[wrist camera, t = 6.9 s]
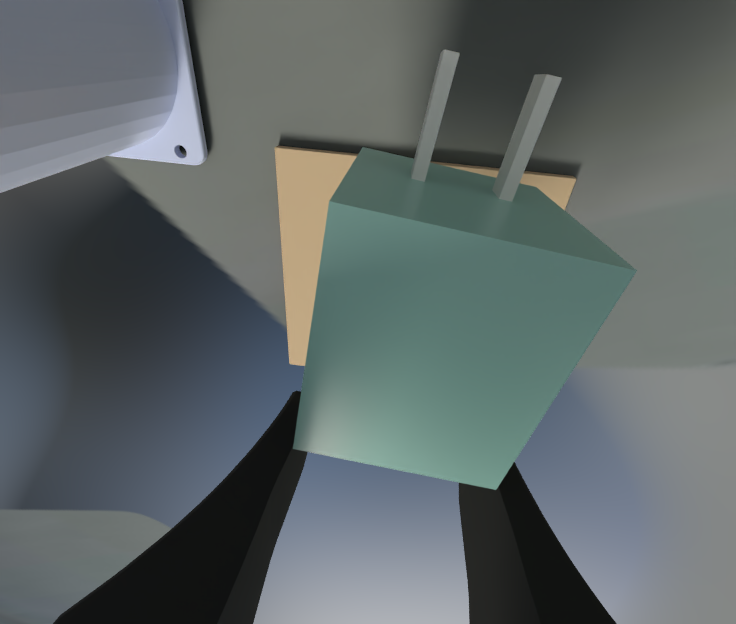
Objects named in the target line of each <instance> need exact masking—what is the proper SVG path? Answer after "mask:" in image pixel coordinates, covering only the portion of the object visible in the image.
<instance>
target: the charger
mask: <svg viewBox="0 0 736 624" xmlns="http://www.w3.org/2000/svg"><path fill="white" fill-rule="evenodd" d="M459 54H460V53H457V52H453V51H449V50H445V49H444V50H443V51H441V54H440V58H439V62H438V66H437V70H436V74H435V78H434V82H433V86H432V90H431V94H430V97H429V101H428V105H427V109H426V113H425V117H424V121H423V125H422V129H421V133H420V137H419V141H418V145H417V149H416V153H415V157H414V159H413V158H408V157H404V156H400V155H396V154H391V153H387V152H383V151H378V150H374V149H370V148H365V147H362V149H361V151H360V152H359V154H358V155H357V157H356V159H355V160H354V162H353V164H352V165H351V167H350V168H349V170H348V172H347V173H346V175H345V176H344V178H343V180H342V181H341V183H340V184H339V186H338V188H337V189H336V191H335V193H334V194H333V196H332V197H331V199H330V201H329V206H328V212H327V219H326V226H325V233H324V240H323V247H322V253H321V260H320V267H319V274H318V281H317V287H316V294H315V301H314V308H313V315H312V322H311V328H310V335H309V342H308V349H307V356H306V362H305V370H304V377H303V383H302V390H301V397H300V403H299V410H298V417H297V424H296V431H295V437H294V444H293V449H296V450H301V451H306V452H311V453H316V454H321V455H326V456H331V457H336V458H341V459H346V460H351V461H356V462H360V463H366V464H371V465H375V466H380V467H386V468H390V469H395V470H400V471H405V472H410V473H415V474H420V475H425V476H430V477H435V478H440V479H445V480H450V481H455V482H459V483H464V484H469V485H474V486H479V487H484V488H489V489H494V490H496V489H497V488H498V486H499V485H500V483H501V482H502V480H503V478H504V477H505V475H506V474H507V472H508V471H509V469H510V468H511V466H512V464H513V463H514V461H515V460H516V458H517V457H518V455H519V454H520V452H521V450H522V449H523V447H524V446H525V444H526V443H527V441H528V440H529V438H530V436H531V435H532V433H533V432H534V430H535V429H536V427H537V425H538V424H539V422H540V421H541V419H542V418H543V416H544V415H545V413H546V411H547V410H548V408H549V407H550V405H551V404H552V402H553V400H554V399H555V397H556V396H557V394H558V393H559V391H560V390H561V388H562V386H563V385H564V383H565V382H566V380H567V379H568V377H569V376H570V374H571V373H572V371H573V369H574V368H575V366H576V365H577V363H578V362H579V360H580V359H581V357H582V355H583V354H584V352H585V351H586V349H587V348H588V346H589V345H590V343H591V341H592V340H593V338H594V337H595V335H596V334H597V332H598V331H599V329H600V327H601V326H602V324H603V323H604V321H605V320H606V318H607V317H608V315H609V313H610V312H611V310H612V309H613V307H614V306H615V304H616V303H617V301H618V299H619V298H620V296H621V295H622V293H623V292H624V290H625V289H626V287H627V285H628V284H629V282H630V281H631V279H632V278H633V276H634V274H635V273H636V271H637V270H636V269H634V268H633V267H632V266H631V265H630V264H628V263H627V262H626V261H625V260H624V259H622V258H621V257H620V256H619V255H618V254H616V253H615V252H614V251H613V250H612V249H610V248H609V247H608V246H607V245H605V244H604V243H603V242H602V241H601V240H599V239H598V238H597V237H596V236H595V235H593V234H592V233H591V232H590V231H589V230H587V229H586V228H585V227H584V226H583V225H581V224H580V223H579V222H578V221H577V220H575V219H574V218H573V217H572V216H571V215H569V214H568V213H567V212H566V211H564V210H563V209H562V208H561V207H560V206H558V205H557V204H556V203H555V202H554V201H552V200H551V199H550V198H549V197H548V196H546V195H545V194H544V193H543V192H542V191H540V190H539V189H538V188H537V187H534V186H530V185H525V184H521V183H520V181H521V178H522V176H523V173H524V171H525V168H526V166H527V163H528V161H529V158H530V156H531V153H532V151H533V148H534V146H535V144H536V141H537V139H538V136H539V134H540V131H541V129H542V126H543V124H544V121H545V119H546V116H547V114H548V111H549V109H550V106H551V104H552V101H553V99H554V97H555V94H556V92H557V89H558V87H559V84H560V82H561V79H562V78H561V77H557V76H552V75H548V74H535V75H534V78H533V80H532V83H531V86H530V88H529V91H528V94H527V97H526V99H525V102H524V105H523V107H522V110H521V113H520V116H519V118H518V121H517V124H516V126H515V129H514V132H513V134H512V137H511V140H510V143H509V145H508V148H507V151H506V153H505V156H504V159H503V161H502V164H501V167H500V170H499V172H498V175H497V178H495V177H491V176H486V175H482V174H478V173H473V172H469V171H465V170H460V169H456V168H452V167H447V166H443V165H439V164H434V163H430V160H431V157H432V153H433V149H434V146H435V142H436V138H437V135H438V131H439V128H440V124H441V120H442V117H443V113H444V109H445V106H446V102H447V98H448V95H449V91H450V87H451V84H452V80H453V76H454V73H455V69H456V65H457V62H458V58H459Z"/></svg>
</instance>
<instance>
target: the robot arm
mask: <svg viewBox="0 0 736 624" xmlns="http://www.w3.org/2000/svg"><path fill="white" fill-rule="evenodd" d="M180 145H181V146H183V147H184V148H185V150H186V152H187V156H184V155H183V154H182V153H181V152H180V150H179V146H180ZM207 153H208V152H207V146H206V140H205V134H204V128H203V122H202V116H201V110H200V104H199V98H198V92H197V86H196V80H195V74H194V68H193V62H192V56H191V50H190V44H189V38H188V32H187V26H186V19H185V13H184V7H183V1H182V0H0V193H1V192H4V191H7V190H9V189H12V188H15V187H18V186H21V185H24V184H27V183H30V182H32V181H35V180H38V179H41V178H44V177H47V176H50V175H53V174H55V173H58V172H61V171H64V170H67V169H70V168H73V167H76V166H78V165H81V164H84V163H87V162H90V161H93V160H96V159H99V158H101V157H104V156H114V157H124V158H133V159H142V160H152V161H161V162H170V163H179V164H189V165H199V164H201V163H203V162H204V161H206V159H207ZM300 397H301V392H300V391H295V392H293V393H292V395H291V396H290V398H289V400H288V401H287V403H286V404H285V406H284V407H283V409H282V410H281V412H280V413H279V414H278V416H277V417H276V419H275V420H274V421H273V423H272V424H271V425H270V427H269V428H268V429H267V431H266V432H265V433H264V434H263V436H262V437H261V438H260V439H259V440H258V442H257V443H256V444H255V445H254V446H253V448H252V449H251V450H250V451H249V452H248V453H247V455H246V456H245V457H244V458H243V459H242V460H241V461H240V462H239V463H238V465H237V466H236V467H235V468H234V469H233V470H232V471H231V472H230V473H229V475H228V476H227V477H226V478H225V479H224V480H223V481H222V482H221V483H220V484H219V485H218V486H217V487H216V488H215V489H214V490H213V491H212V492H211V493H210V494H209V495H208V496H207V497H206V498H205V499H204V500H203V501H202V502H201V503H200V504H199V505H197V506H196V507H195V508H194V509H193V510H192V511H191V512H190V513H189V514H188V515H187V516H186V517H184V518H183V519H182V520H181V521H180V522H179V523H178V524H177V525H176V526H174V528H172V529H171V530H170V531H169V532H167V533H166V534H165V535H164V536H163V537H162V538H160V539H159V540H158V541H157V542H156V543H154V544H153V545H152V546H151V547H149V548H148V549H147V550H146V551H144V552H143V553H142V554H141V555H139V556H138V557H137V558H136V559H135V560H133V561H132V562H131V563H130V564H128V565H127V566H126V567H125V568H123V569H122V570H121V571H119V572H118V573H117V574H116V575H114V576H113V577H112V578H110V579H109V580H108V581H106V582H105V583H103V584H102V585H101V586H99V587H98V588H97V589H95V590H94V591H93V592H91V593H90V594H88V595H87V596H86V597H84V598H83V599H82V600H80V601H79V602H77V603H76V604H75V605H73V606H72V607H71V608H69V609H68V610H67V611H65V612H64V613H63V614H61V615H60V616H59V617H58V618H57V620H56V621H55V622H54V623H53V624H253V622H254V618H255V614H256V611H257V607H258V603H259V600H260V596H261V592H262V588H263V585H264V581H265V577H266V574H267V571H268V567H269V563H270V560H271V557H272V554H273V550H274V547H275V544H276V541H277V538H278V536H279V533H280V530H281V528H282V525H283V522H284V519H285V517H286V514H287V511H288V509H289V506H290V503H291V500H292V498H293V495H294V492H295V490H296V487H297V484H298V481H299V478H300V476H301V473H302V470H303V467H304V463H305V459H306V456H307V452H306V451H301V450H296V449H293V444H294V437H295V431H296V424H297V417H298V410H299V403H300ZM459 505H460V515H461V525H462V533H463V542H464V551H465V560H466V570H467V579H468V592H469V619H470V624H616V622H615V621H614V620H613V619H612V617H611V616H610V615H609V614H608V612H607V611H606V610H605V608H604V607H603V605H602V604H601V603H600V601H599V600H598V599H597V597H596V596H595V594H594V593H593V592H592V591H591V589H590V587H589V586H588V585H587V583H586V582H585V580H584V579H583V578H582V576H581V575H580V573H579V572H578V570H577V569H576V567H575V566H574V564H573V563H572V561H571V560H570V558H569V557H568V555H567V553H566V552H565V550H564V549H563V547H562V546H561V544H560V542H559V541H558V539H557V538H556V536H555V534H554V533H553V531H552V529H551V528H550V526H549V524H548V523H547V521H546V519H545V518H544V516H543V514H542V513H541V511H540V509H539V507H538V505H537V504H536V502H535V500H534V498H533V496H532V494H531V493H530V491H529V489H528V487H527V485H526V483H525V481H524V480H523V478H522V476H521V474H520V472H519V470H518V468H517V466H516V464H515V462H514V463H513V464H512V466H511V468H510V469H509V471H508V472H507V474H506V475H505V477H504V478H503V480H502V482H501V483H500V485H499V486H498V488H497V489H496V490H494V489H489V488H484V487H479V486H474V485H469V484H464V483H459Z"/></svg>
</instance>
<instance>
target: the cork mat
mask: <svg viewBox="0 0 736 624" xmlns="http://www.w3.org/2000/svg"><path fill="white" fill-rule="evenodd" d="M357 155H358V154H355V153H345V152H335V151H326V150H316V149H306V148H297V147H287V146H277V147H275V158H276V173H277V187H278V202H279V216H280V231H281V246H282V260H283V275H284V289H285V304H286V319H287V333H288V348H289V363H290V364H294V365H301V366H305V362H306V356H307V349H308V342H309V335H310V328H311V322H312V315H313V308H314V301H315V294H316V287H317V281H318V274H319V267H320V260H321V253H322V247H323V240H324V233H325V226H326V219H327V212H328V206H329V201H330V199H331V197H332V196H333V194H334V193H335V191H336V189H337V188H338V186H339V184H340V183H341V181H342V180H343V178H344V176H345V175H346V173H347V172H348V170H349V168H350V167H351V165H352V164H353V162H354V160H355V159H356V157H357ZM430 163H434V164H439V165H443V166H447V167H452V168H456V169H460V170H465V171H469V172H473V173H478V174H482V175H486V176H491V177H495V178H497V175H498V172H499V170H500V168H491V167H481V166H471V165H462V164H452V163H442V162H432V161H430ZM575 181H576V178H575V177H574V176H568V175H559V174H549V173H539V172H530V171H524V173H523V176H522V178H521V181H520V183H521V184H525V185H530V186H534V187H537V188H538V189H539V190H540V191H542V192H543V193H544V194H545V195H546V196H548V197H549V198H550V199H551V200H552V201H554V202H555V203H556V204H557V205H558V206H560V207H561V208H562V209H563V210H565V208H566V205H567V202H568V200H569V197H570V194H571V192H572V189H573V187H574V184H575Z"/></svg>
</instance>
